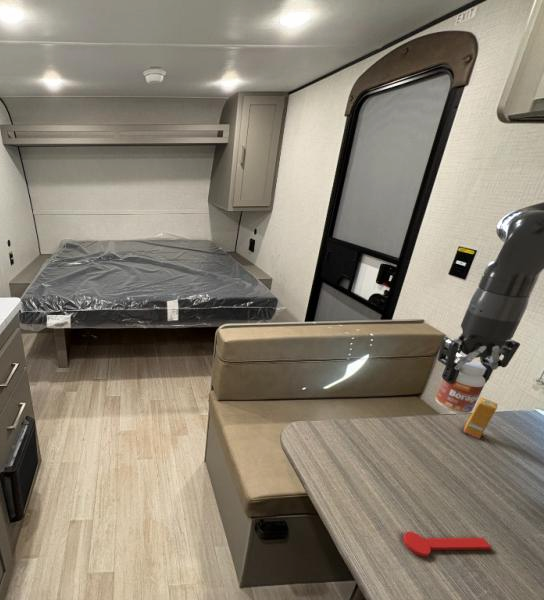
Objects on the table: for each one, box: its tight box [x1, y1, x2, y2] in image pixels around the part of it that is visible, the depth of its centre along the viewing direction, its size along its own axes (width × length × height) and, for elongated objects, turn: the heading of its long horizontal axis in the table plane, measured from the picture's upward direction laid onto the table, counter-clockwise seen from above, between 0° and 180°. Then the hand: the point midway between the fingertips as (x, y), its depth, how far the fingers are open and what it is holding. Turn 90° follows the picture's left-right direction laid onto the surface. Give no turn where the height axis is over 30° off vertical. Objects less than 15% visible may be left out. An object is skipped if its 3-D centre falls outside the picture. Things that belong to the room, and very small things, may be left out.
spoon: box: [402, 531, 492, 558], centre depth 58 cm, size 15×4×1 cm, turn 90°
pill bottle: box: [435, 358, 486, 415], centre depth 70 cm, size 6×6×11 cm
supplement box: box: [463, 397, 498, 439], centre depth 82 cm, size 3×3×10 cm
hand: (463, 381), depth 70 cm, fingers closed on pill bottle, 6 cm apart
